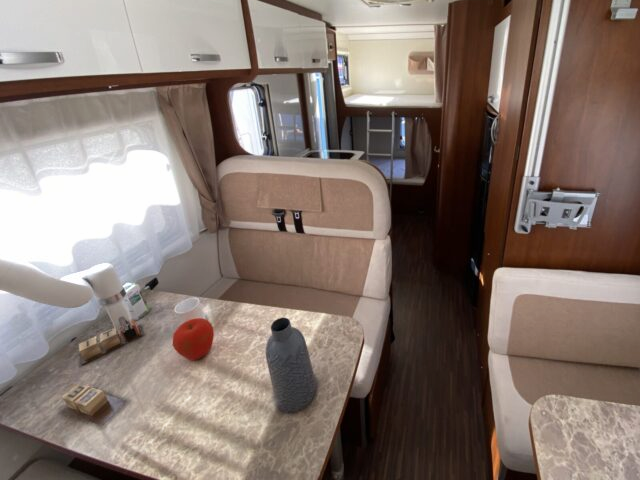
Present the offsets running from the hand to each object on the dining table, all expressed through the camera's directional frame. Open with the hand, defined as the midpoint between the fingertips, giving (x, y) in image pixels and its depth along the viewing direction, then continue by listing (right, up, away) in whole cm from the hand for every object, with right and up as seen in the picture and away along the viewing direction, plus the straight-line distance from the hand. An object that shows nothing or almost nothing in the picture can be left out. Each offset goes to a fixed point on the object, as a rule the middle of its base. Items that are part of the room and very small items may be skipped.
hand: (130, 333), depth 115 cm
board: (-4, -3, -3) cm, 6 cm away
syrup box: (-6, +2, +11) cm, 13 cm away
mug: (+20, +1, +6) cm, 21 cm away
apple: (+31, -4, -8) cm, 33 cm away
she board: (+10, -12, -24) cm, 29 cm away
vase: (+70, -8, -22) cm, 74 cm away
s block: (0, 0, 0) cm, 0 cm away
